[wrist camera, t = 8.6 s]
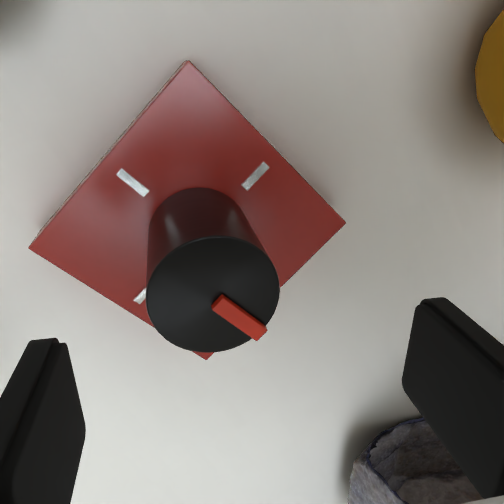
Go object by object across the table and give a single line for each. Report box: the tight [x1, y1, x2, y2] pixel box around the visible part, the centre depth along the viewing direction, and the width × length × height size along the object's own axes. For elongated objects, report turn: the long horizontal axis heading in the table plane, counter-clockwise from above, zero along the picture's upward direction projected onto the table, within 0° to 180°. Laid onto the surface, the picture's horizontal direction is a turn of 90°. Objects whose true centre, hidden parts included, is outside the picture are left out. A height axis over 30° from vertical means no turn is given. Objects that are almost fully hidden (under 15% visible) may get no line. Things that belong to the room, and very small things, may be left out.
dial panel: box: [29, 61, 346, 360], centre depth 19 cm, size 10×10×2 cm
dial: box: [146, 188, 280, 353], centre depth 16 cm, size 4×4×6 cm
